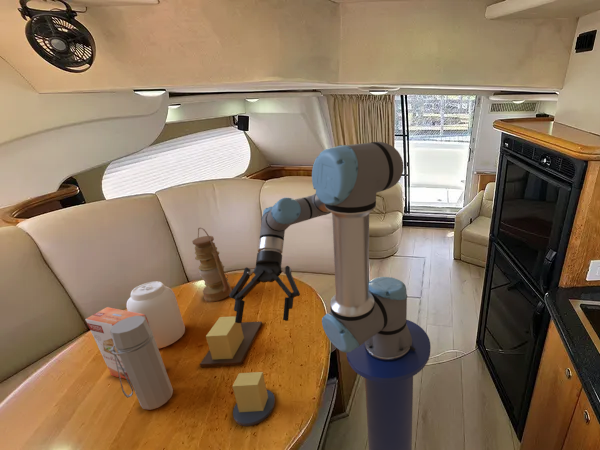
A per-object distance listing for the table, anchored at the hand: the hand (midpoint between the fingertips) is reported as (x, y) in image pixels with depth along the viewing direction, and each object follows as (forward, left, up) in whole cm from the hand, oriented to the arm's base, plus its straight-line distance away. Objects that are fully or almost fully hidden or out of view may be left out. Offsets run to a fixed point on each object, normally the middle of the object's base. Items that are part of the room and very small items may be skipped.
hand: (262, 321), depth 92 cm
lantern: (+39, -32, -15) cm, 52 cm away
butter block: (+15, -2, -13) cm, 20 cm away
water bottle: (+24, +17, -15) cm, 33 cm away
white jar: (+41, -6, -15) cm, 44 cm away
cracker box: (+36, +9, -15) cm, 40 cm away
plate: (-4, +16, -14) cm, 22 cm away
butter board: (+15, -5, -14) cm, 22 cm away
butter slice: (-4, +16, -13) cm, 21 cm away
